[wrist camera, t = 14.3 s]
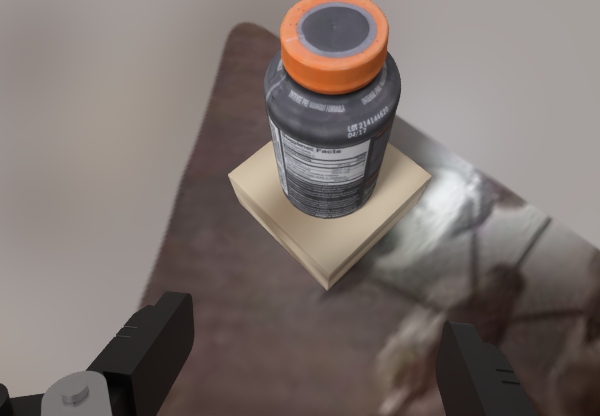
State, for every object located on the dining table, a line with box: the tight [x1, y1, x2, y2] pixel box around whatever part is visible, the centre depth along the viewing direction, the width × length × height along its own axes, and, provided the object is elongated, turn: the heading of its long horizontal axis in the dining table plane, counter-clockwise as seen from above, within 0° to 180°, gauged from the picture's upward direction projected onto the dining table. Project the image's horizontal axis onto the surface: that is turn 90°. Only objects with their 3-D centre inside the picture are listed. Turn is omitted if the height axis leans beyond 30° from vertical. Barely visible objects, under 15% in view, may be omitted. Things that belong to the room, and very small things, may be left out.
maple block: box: [228, 140, 432, 291], centre depth 26 cm, size 9×9×4 cm
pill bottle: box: [264, 0, 401, 219], centre depth 19 cm, size 6×6×11 cm
